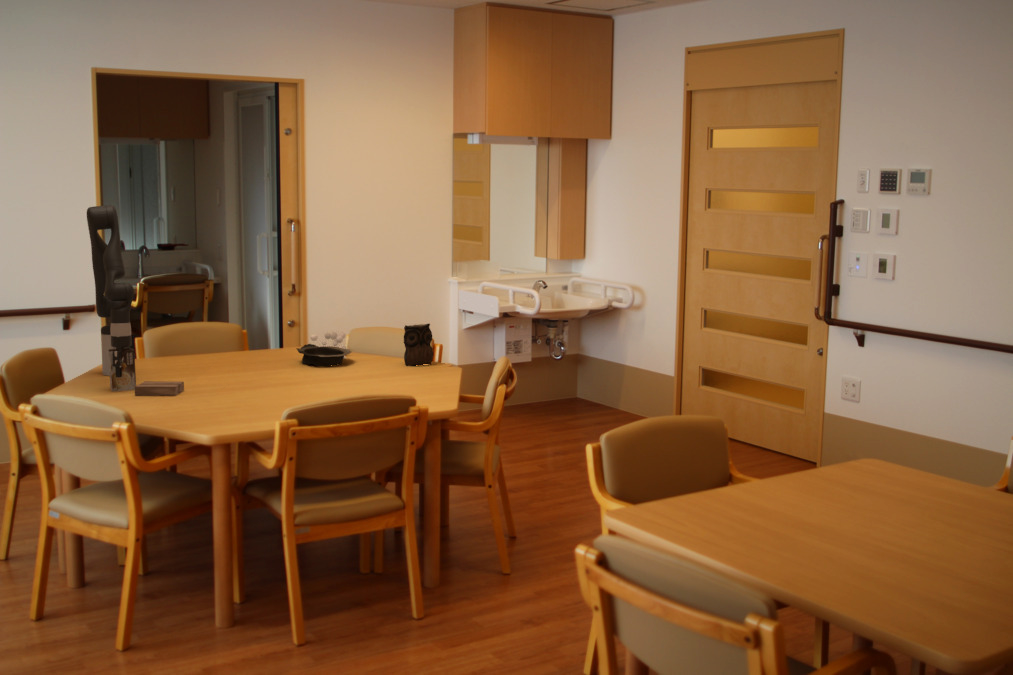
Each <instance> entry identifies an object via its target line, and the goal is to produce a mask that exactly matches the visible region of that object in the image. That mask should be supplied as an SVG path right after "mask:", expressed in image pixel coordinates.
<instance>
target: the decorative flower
mask: <svg viewBox="0 0 1013 675" xmlns="http://www.w3.org/2000/svg"><path fill="white" fill-rule="evenodd" d="M323 333H324V331H323ZM321 338H323V336H322V335H321ZM345 338H346V333H345V332H342V331H340V332H339V331H338V333H337V330H336V331H332V332H330V333H329V332H328V331H326V333H325V334H324V339H325V340H322V341H321V340H320V338H319V336H318V334H316V333H313V334H312V333H311V335H310V341H312V342H316V341H318V339H319V341H321V344H320V343H318V344H319V345H320V346H321V345H322V346H326V345H327V346H329V344H328V343H327V340H328V341H329V340H331V341H332V346H333V347H340V348H343V349H347V346H345V345H346V344H347V343H345V342H344V343H345V344H344V345H343V344H341V343H343V341H344V340H345ZM343 359H347V356H346V355H345V356H344V358H343Z"/></svg>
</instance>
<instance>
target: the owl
mask: <svg viewBox="0 0 1013 675" xmlns="http://www.w3.org/2000/svg"><path fill="white" fill-rule="evenodd" d="M430 326H431V323H420V324H413V325H406V324H405V325H404V328H403V329H404V334H403V344H404V347H405V351H404V355H403V360H404V365H405V366H406V367H417V366H416V365H423V364H430V365H431V364H432V362H433V359H434V358H433V357H434V356H435V355H434V351H433V349H434V348H433V347H432V345H431V343H432V341H433V333H432V330H431V328H430Z"/></svg>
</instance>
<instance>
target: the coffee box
mask: <svg viewBox="0 0 1013 675" xmlns="http://www.w3.org/2000/svg"><path fill="white" fill-rule="evenodd" d="M108 350H109V368H110V376H109V383H110V387H109V388H111V389H110V390H111V392H124V391H127V392H128V391H135V386H137V379H136V378H137V375H136V374H137V373H136V360H135V359H136V356H135V349H134V348H132V347H130V348H127V349H124V350H122V357H123V356H124V363H122V377H116V371H115V367H113V351H116V349H108ZM122 357H120V360H121V359H122ZM117 364H118V362H117Z"/></svg>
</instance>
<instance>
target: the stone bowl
mask: <svg viewBox="0 0 1013 675" xmlns="http://www.w3.org/2000/svg"><path fill="white" fill-rule="evenodd" d="M296 350H297V352H298V353H299V354H301V355H303V356H302V360H301V363H302V365H304V366H305V365H306V366H308V365H309V364H311V365H313V366H314V367H319V366H325V367H332V366H331V365H336V366H338V365H337V364H340V365H341V364H342V363H343V360H344V359H345V358H344V356H345V357H346V356H348V355H351V354H352V351H351V350H349V349H347V348H346V349H343V348H341V347H340V346H333V345H328V346H326V345H322V346H318V345H316V344H312V343H307V344H304V345H302V346H301V347H300V348H298V347H296ZM309 366H310V365H309Z"/></svg>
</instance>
